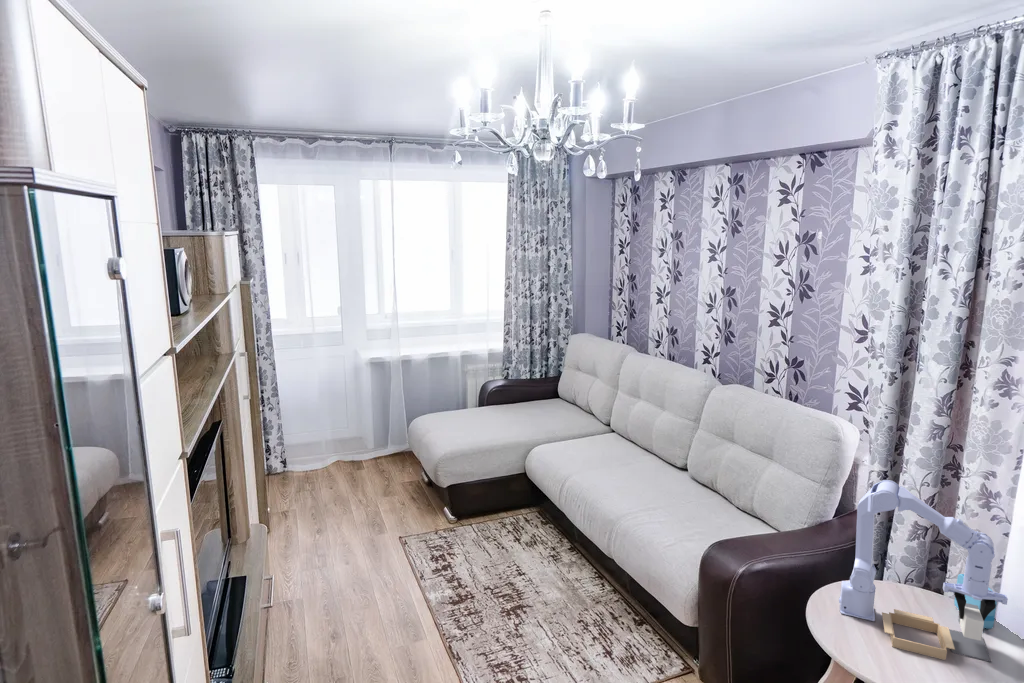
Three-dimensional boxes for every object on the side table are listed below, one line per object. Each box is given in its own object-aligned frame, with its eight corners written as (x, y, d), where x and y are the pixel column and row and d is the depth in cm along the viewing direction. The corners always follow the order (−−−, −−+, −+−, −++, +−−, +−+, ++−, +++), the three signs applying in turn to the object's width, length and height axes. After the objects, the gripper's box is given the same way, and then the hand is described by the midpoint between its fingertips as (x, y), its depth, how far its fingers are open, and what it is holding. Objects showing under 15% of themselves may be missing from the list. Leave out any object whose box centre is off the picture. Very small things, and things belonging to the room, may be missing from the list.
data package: (993, 631, 181) (998, 595, 178) (976, 630, 181) (981, 594, 179) (968, 606, 192) (973, 572, 190) (953, 605, 193) (957, 571, 191)
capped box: (963, 636, 171) (966, 618, 170) (958, 620, 178) (960, 602, 177) (981, 640, 170) (984, 621, 168) (975, 623, 177) (977, 605, 175)
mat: (951, 652, 172) (952, 651, 172) (945, 629, 182) (945, 628, 182) (991, 662, 168) (991, 660, 168) (981, 638, 178) (982, 636, 178)
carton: (884, 644, 176) (885, 634, 175) (880, 615, 189) (881, 606, 188) (954, 662, 168) (955, 651, 168) (944, 630, 181) (946, 620, 181)
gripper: (948, 577, 171) (942, 620, 173) (1013, 590, 164) (1006, 634, 167) (943, 564, 177) (938, 606, 179) (1006, 576, 170) (999, 619, 173)
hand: (970, 619), depth 173 cm, fingers closed on capped box, 4 cm apart
